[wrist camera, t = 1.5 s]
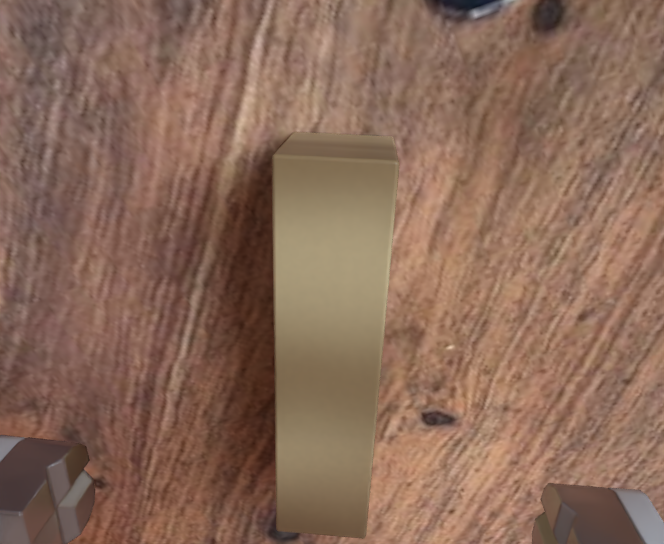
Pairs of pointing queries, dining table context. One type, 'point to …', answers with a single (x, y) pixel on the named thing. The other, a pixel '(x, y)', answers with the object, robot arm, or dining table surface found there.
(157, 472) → the dining table surface
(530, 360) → the dining table surface
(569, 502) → the robot arm
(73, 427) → the dining table surface
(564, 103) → the dining table surface
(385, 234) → the stick
